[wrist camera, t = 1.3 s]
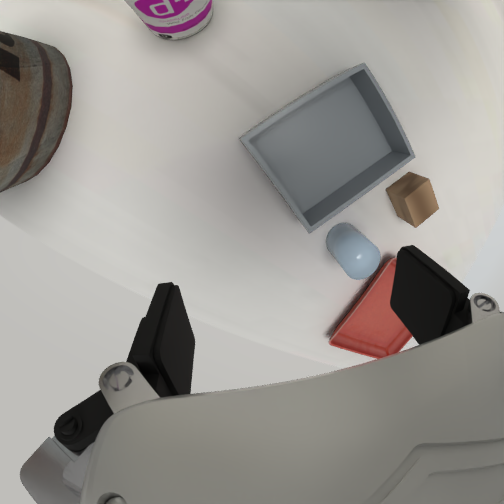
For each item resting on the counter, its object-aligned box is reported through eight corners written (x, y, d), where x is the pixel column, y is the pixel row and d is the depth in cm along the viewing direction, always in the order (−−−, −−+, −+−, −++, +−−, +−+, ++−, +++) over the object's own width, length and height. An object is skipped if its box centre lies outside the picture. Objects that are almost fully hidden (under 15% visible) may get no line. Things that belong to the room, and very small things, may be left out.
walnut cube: (408, 171, 34) (429, 179, 29) (419, 198, 36) (439, 208, 31) (385, 189, 35) (404, 198, 30) (397, 216, 37) (415, 227, 32)
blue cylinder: (348, 216, 36) (371, 235, 30) (362, 242, 38) (385, 264, 32) (320, 236, 37) (337, 259, 31) (335, 261, 39) (354, 286, 33)
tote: (347, 69, 27) (364, 62, 23) (394, 152, 32) (415, 157, 28) (238, 138, 31) (240, 139, 26) (299, 219, 36) (309, 233, 31)
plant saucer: (384, 247, 39) (394, 256, 36) (437, 284, 44) (446, 293, 41) (321, 331, 45) (326, 344, 42) (383, 351, 50) (389, 362, 47)
